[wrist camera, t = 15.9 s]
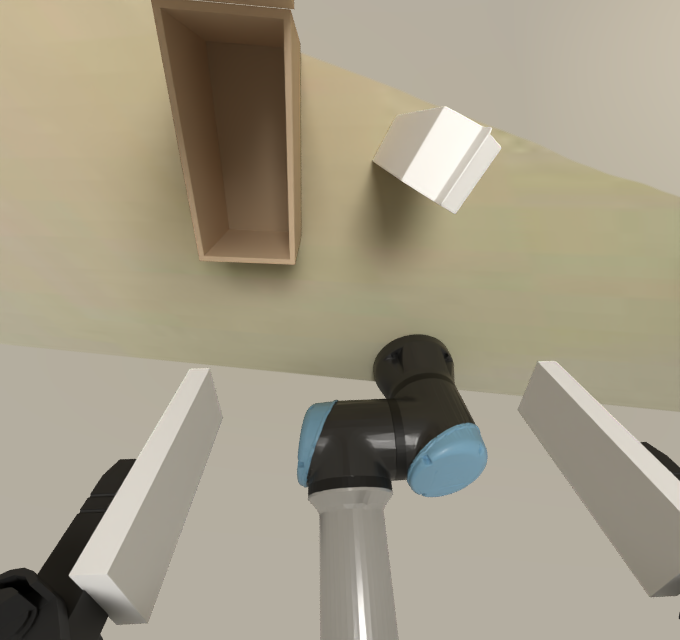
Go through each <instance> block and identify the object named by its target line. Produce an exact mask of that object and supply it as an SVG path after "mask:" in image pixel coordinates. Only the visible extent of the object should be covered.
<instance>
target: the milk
mask: <svg viewBox="0 0 680 640" xmlns="http://www.w3.org/2000/svg"><path fill="white" fill-rule="evenodd" d="M491 130H492V128H491V127H483V126H481V125H479V124H477V123H475V122H474V121H472V120H470V119H468V118H466V117H465V116H463V115H461V114H459V113H457V112H455V111H453V110H452V109H450V108H448V107H446V106H443V107H437V108H432V109H427V110H421V111H416V112H410V113H405V114H400V115H396V116H395V118H394V120H393V122H392V124H391V126H390V128H389V130H388V132H387V134H386V135H385V137H384V139H383V141H382V143H381V145H380V147H379V149H378V151H377V153H376V154H375V156H374V158H373V160H372V161H373V162H374V163H376V164H377V165H379V166H380V167H382V168H383V169H385V170H386V171H387V172H389V173H390V174H392V175H393V176H395V177H396V178H398V179H399V180H401V181H402V182H404V183H405V184H407V185H408V186H410V187H412V188H413V189H415V190H416V191H418V192H419V193H421V194H423V195H424V196H426V197H427V198H429V199H431V200H432V201H434V202H435V203H437V204H438V205H440V206H442V207H444V208H445V209H447V210H449V211H450V212H452V213H454V214H456V212H457V211H458V210H459V208H460V207H461V205H462V204H463V202H464V201H465V200H466V198H467V197H468V195H469V194H470V193H471V191H472V190H473V188H474V187H475V185H476V184H477V183H478V181H479V180H480V178H481V177H482V175H483V174H484V173H485V171H486V170H487V168H488V167H489V165H490V164H491V163H492V161H493V160H494V158H495V157H496V155H497V154H498V153H499V151H500V150H501V146H500V145H499V144H498V143H497V142H496V140H495V139H494V138H493V137H492V136H491V135H490V133H491Z"/></svg>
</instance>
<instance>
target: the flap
mask: <svg viewBox="0 0 680 640" xmlns="http://www.w3.org/2000/svg"><path fill="white" fill-rule="evenodd" d="M203 1H213V2H223V3H235V4H245V5H255V6H266V7H276V8H288V9H294V0H203Z"/></svg>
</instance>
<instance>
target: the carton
mask: <svg viewBox="0 0 680 640" xmlns="http://www.w3.org/2000/svg"><path fill="white" fill-rule="evenodd" d="M151 2H152V8H153V13H154V19H155V24H156V29H157V35H158V40H159V45H160V51H161V56H162V62H163V67H164V72H165V78H166V83H167V88H168V94H169V99H170V104H171V110H172V115H173V121H174V126H175V131H176V137H177V142H178V147H179V153H180V158H181V164H182V169H183V174H184V180H185V185H186V190H187V196H188V201H189V207H190V212H191V217H192V223H193V228H194V233H195V239H196V244H197V249H198V255H199V260H200V261H218V262H243V263H268V264H293V265H295V262H296V258H297V253H298V249H299V244H300V239H301V69H300V41H299V38H298V34H297V31H296V27H295V24H294V20H293V17H292V13H291V10H289V9H278V8H267V7H257V6H246V5H235V4H225V3H214V2H203V1H193V0H151Z"/></svg>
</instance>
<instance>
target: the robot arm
mask: <svg viewBox="0 0 680 640" xmlns="http://www.w3.org/2000/svg"><path fill="white" fill-rule="evenodd" d="M374 376H375V381H376V383H377V386H378V387H379V389H380V390H381V392H382V393H383V394H384V396H385V397H386V399H371V400H348V401H338V400H334V401H333V402H324V403H316V404H313V405H312V406H311V407H310V408H309V409H308V410H307V412H306V414H305V417H304V420H303V424H302V429H301V434H300V441H299V449H298V460H299V461H298V468H297V477H298V482H299V484H300V485H302V486H304V487H308V500H309V501H310V502H311V504H313V506H314V507H315V508H316V509H317V511H318V512H319V516H320V621H321V622H320V631H321V640H398V631H397V623H396V614H395V605H394V597H393V589H392V579H391V571H390V562H389V555H388V554H389V553H388V545H387V537H386V528H385V519H384V507H385V505H386V504H387V502H388V501H389V499H390V498H391V496H392V495H393V492H392V485H391V481H394V480H407V482H408V484H409V486H410V487H411V489H412V490H413V491H414V492H415V493H417V494H419V495H420V494H422V495H423V496H425V497H439V496H444V495H448V494H452V493H454V492H457V491H459V490H461V489H463V488H465V487H466V486H468V485H469V484H470V483H472V482H473V481H475V480H476V479H477V478H478V477H479V476H480V474H481V473H482V471H483V470H484V468H485V466H486V463H487V450H486V447H485V444H484V442H483V440H482V437H481V435H480V430H479V428H478V426H476V425H475V422H474V421H473V419H472V417H471V415H470V413H469V411H468V409H467V407H466V405H465V403H464V401H463V399H462V398H461V396H460V394H459V392H458V390H457V388H456V386H455V382H454V364H453V360H452V357H451V355H450V353H449V351H448V349H447V348H446V346H445V345H444V344H443V343H442V342H441V341H439V340H438V339H436V338H433V337H431V336H427V335H409V336H404V337H401V338H398V339H396V340H394V341H392V342H391V343H389V344H388V345H386V346H385V347H384V348H383V349H382V350H381V351H380V353H379V354H378V356H377V357H376V360H375V362H374ZM518 411H519V413H520V414H521V416H522V417H523V418H524V420H525V421H526V423H527V424H528V426H529V427H530V428H531V430H532V431H533V433H534V434H535V435H536V437H537V438H538V439H539V441H540V443H541V444H542V445H543V447H544V448H545V449H546V451H547V452H548V454H549V455H550V457H551V458H552V459H553V461H554V462H555V464H556V465H557V467H558V468H559V469H560V471H561V472H562V473H563V475H564V477H565V478H566V479H567V481H568V482H569V483H570V485H571V486H572V488H573V489H574V491H575V492H576V494H577V495H578V496H579V498H580V499H581V501H582V502H583V503H584V504H585V506H586V508H587V509H588V511H589V512H590V513H591V515H592V516H593V518H594V519H595V520H596V522H597V523H598V525H599V526H600V527H601V529H602V530H603V532H604V533H605V535H606V536H607V537H608V539H609V540H610V542H611V543H612V545H613V546H614V547H615V549H616V550H617V552H618V553H619V554H620V556H621V557H622V559H623V560H624V562H625V563H626V564H627V566H628V567H629V569H630V570H631V571H632V573H633V574H634V576H635V577H636V578H637V580H638V581H639V583H640V584H641V586H642V587H643V588H644V590H645V591H646V593H647V594H648V595H649V597H663V596H677V595H679V594H680V467H678V466H677V465H676V464H675V463H674V462H673V461H672V460H671V459H670V458H669V457H668V456H667V455H665V454H664V453H662V452H660V451H659V450H657V449H656V448H654V447H653V446H651V445H650V444H648V443H647V442H639V441H638V440H637V439H636V438H635V437H634V436H633V435H632V434H631V433H630V432H628V430H627V429H626V428H624V427H623V426H622V425H621V424H620V423H619V422H618V421H617V420H616V419H615V418H614V417H613V416H612V415H611V414H610V413H609V412H608V411H607V410H606V409H605V408H604V407H603V406H602V405H601V404H600V403H599V402H598V401H597V400H596V399H595V398H594V397H592V396H591V395H590V394H589V393H588V392H587V391H586V390H585V389H584V388H583V387H582V386H581V385H580V384H579V383H578V382H577V381H576V380H575V379H574V378H573V377H572V376H571V375H570V374H569V373H568V372H567V371H566V370H565V369H564V368H563V367H561V366H560V365H559V364H558V363H557V362H556V361H537V364H536V366H535V369H534V371H533V373H532V376H531V378H530V381H529V383H528V386H527V388H526V390H525V393H524V395H523V398H522V400H521V403H520V405H519V407H518ZM222 419H223V417H222V413H221V409H220V405H219V401H218V398H217V394H216V390H215V387H214V382H213V379H212V374H211V371H210V368H195V369H194V368H193V369H189V371H188V373H187V374H186V376H185V378H184V379H183V381H182V383H181V385H180V386H179V388H178V390H177V392H176V393H175V395H174V397H173V398H172V400H171V402H170V404H169V405H168V407H167V408H166V410H165V412H164V414H163V415H162V417H161V419H160V420H159V422H158V424H157V426H156V427H155V429H154V431H153V432H152V434H151V436H150V437H149V439H148V441H147V443H146V444H145V446H144V448H143V449H142V451H141V453H140V455H139V456H138V458H137V459H120V460H119V461H118V462H117V463H116V464H115V465H113V466H112V467H111V468H110V469H109V470H108V471H107V472H106V473H105V474H104V475H103V476H102V477H101V479H100V480H99V482H98V483H97V485H96V486H95V488H94V489H93V491H92V492H91V496H90V497H89V498H87V500H86V501H85V503H84V505H83V506H82V508H81V509H80V513H79V514H77V515H76V517H75V518H74V520H73V521H72V523H71V524H70V526H69V528H68V529H67V530H66V532H65V533H64V535H63V536H62V538H61V540H60V541H59V542H58V544H57V546H56V547H55V549H54V550H53V552H52V553H51V555H50V556H49V558H48V559H47V561H46V562H45V564H44V565H43V567H42V569H41V570H40V572H39V573H38V574H36V573H35V572H34V571H32V570H29V569H26V568H19V569H13V570H9V571H7V572H5V573H3V574H0V640H103V638H102V637H101V635H100V633H101V631H102V629H103V626H104V624H105V622H106V620H107V618H108V617H109V618H110V619H111V620H113V622H114V623H115V624H117V625H122V624H141V623H148V621H149V619H150V616H151V613H152V610H153V608H154V605H155V602H156V599H157V597H158V594H159V591H160V589H161V586H162V583H163V580H164V577H165V575H166V572H167V569H168V567H169V564H170V561H171V558H172V555H173V553H174V550H175V547H176V544H177V542H178V539H179V536H180V533H181V531H182V528H183V525H184V523H185V520H186V517H187V515H188V512H189V509H190V506H191V504H192V501H193V498H194V495H195V493H196V490H197V487H198V484H199V482H200V479H201V476H202V473H203V471H204V468H205V465H206V463H207V460H208V457H209V454H210V452H211V449H212V446H213V443H214V441H215V438H216V435H217V432H218V430H219V427H220V424H221V421H222ZM679 619H680V614H679Z"/></svg>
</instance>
